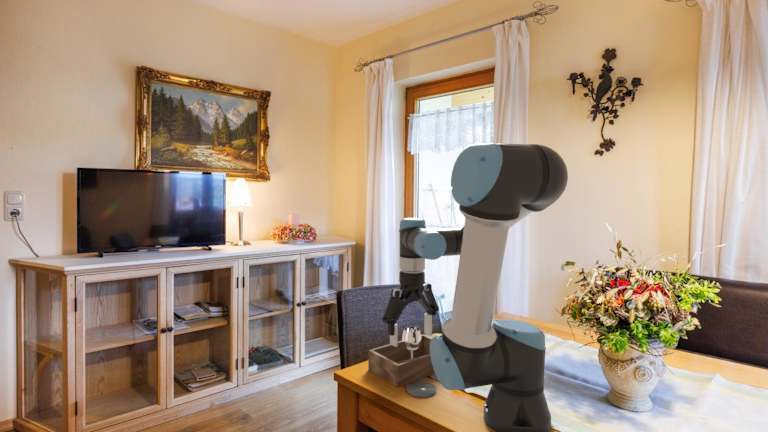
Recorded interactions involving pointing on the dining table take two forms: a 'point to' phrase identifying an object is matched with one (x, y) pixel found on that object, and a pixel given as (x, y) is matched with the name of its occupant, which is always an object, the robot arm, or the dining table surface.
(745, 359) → the dining table surface
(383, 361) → the rectangular wooden frame
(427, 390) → the coaster
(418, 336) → the wineglass
